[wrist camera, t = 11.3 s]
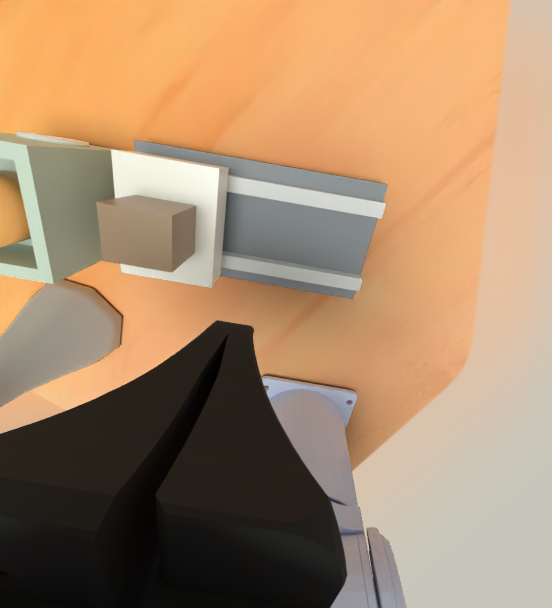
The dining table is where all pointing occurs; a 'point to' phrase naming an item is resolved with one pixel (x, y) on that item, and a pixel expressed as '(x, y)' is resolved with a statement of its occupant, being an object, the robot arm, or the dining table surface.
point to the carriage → (165, 218)
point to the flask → (55, 337)
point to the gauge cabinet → (56, 204)
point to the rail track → (291, 222)
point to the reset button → (12, 210)
